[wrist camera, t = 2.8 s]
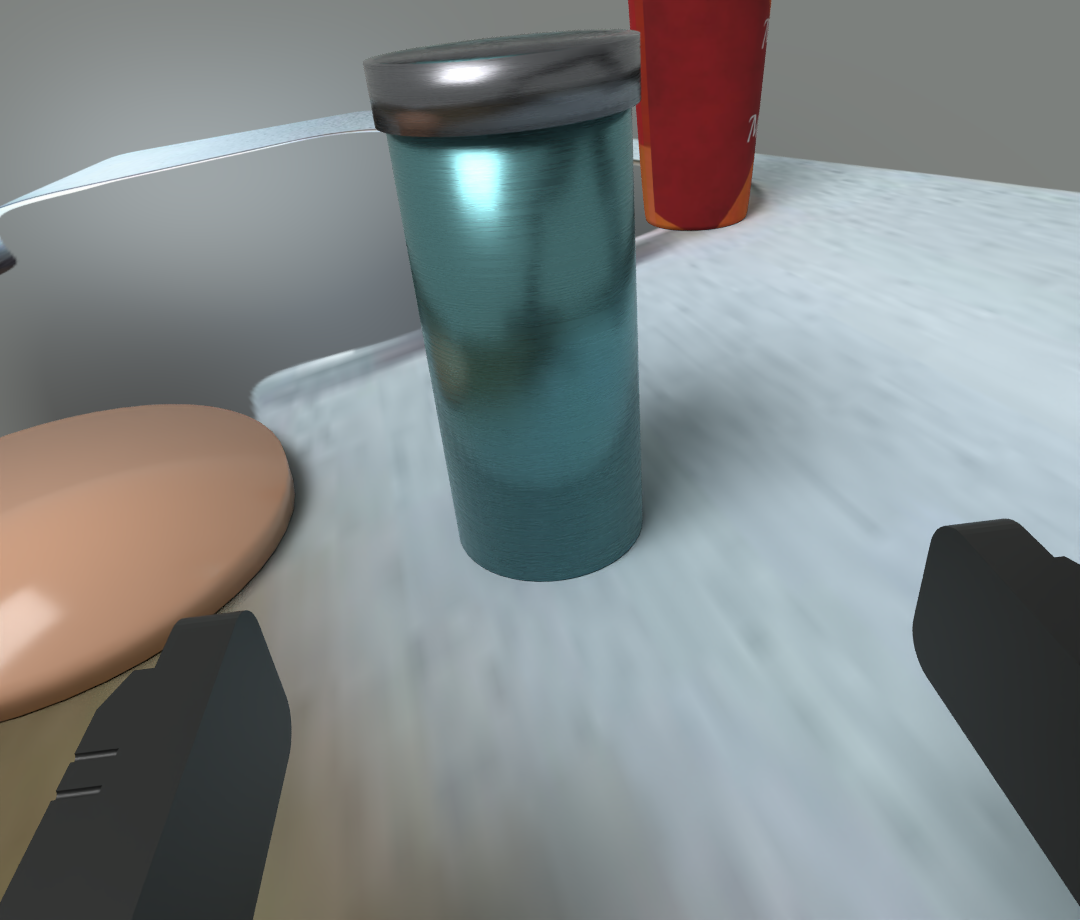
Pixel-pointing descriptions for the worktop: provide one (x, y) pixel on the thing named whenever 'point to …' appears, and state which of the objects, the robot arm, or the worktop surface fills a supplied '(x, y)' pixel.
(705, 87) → the coffee cup
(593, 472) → the canister
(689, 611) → the worktop surface
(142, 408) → the dish
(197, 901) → the robot arm
